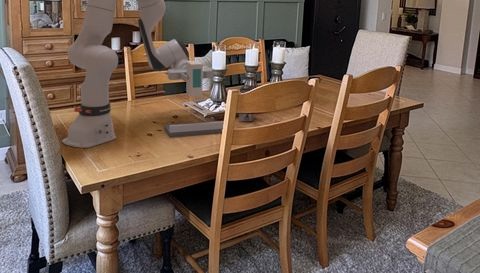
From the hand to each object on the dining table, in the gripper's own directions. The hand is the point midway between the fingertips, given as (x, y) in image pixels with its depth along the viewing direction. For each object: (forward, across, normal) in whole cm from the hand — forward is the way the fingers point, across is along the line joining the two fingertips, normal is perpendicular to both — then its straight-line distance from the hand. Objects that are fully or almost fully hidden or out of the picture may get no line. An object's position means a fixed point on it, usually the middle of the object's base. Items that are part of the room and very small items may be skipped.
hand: (194, 77), depth 215 cm
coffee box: (-10, +29, +24) cm, 39 cm away
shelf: (+1, 0, +24) cm, 24 cm away
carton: (0, 0, +8) cm, 8 cm away
